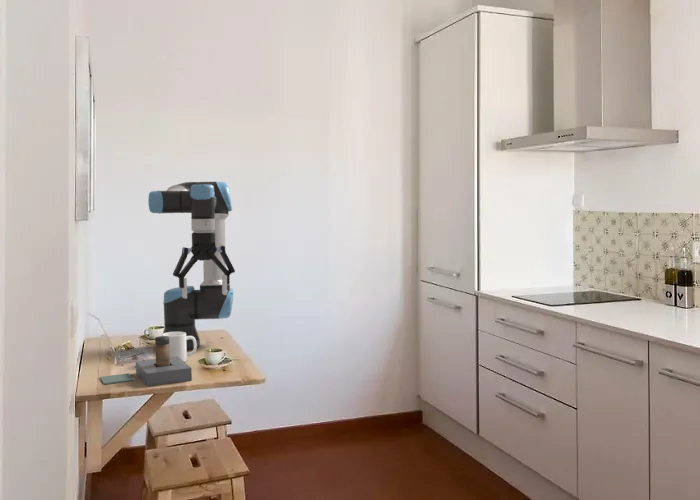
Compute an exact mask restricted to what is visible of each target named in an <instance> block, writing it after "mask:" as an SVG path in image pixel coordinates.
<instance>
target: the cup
mask: <svg viewBox="0 0 700 500" xmlns="http://www.w3.org/2000/svg"><path fill="white" fill-rule="evenodd" d="M161 336H168V337H169V350H170V357H177V356H178V357H179V358H180V359H181V360H183V361H184V362H185V363H186V362H187V360H188V359H187V358H188V357H191V356H193V355H194V354H195V353H196V351H197V348H198V347H197V343H196V339H195V338H194V337H193V336H186V333H185V332H167V333H164V334H163V333H162V334H161ZM189 339H192V340H193V343H194V348H193V350H192V351H190V352H187V351H188V350H187V345H186V340H189Z"/></svg>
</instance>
